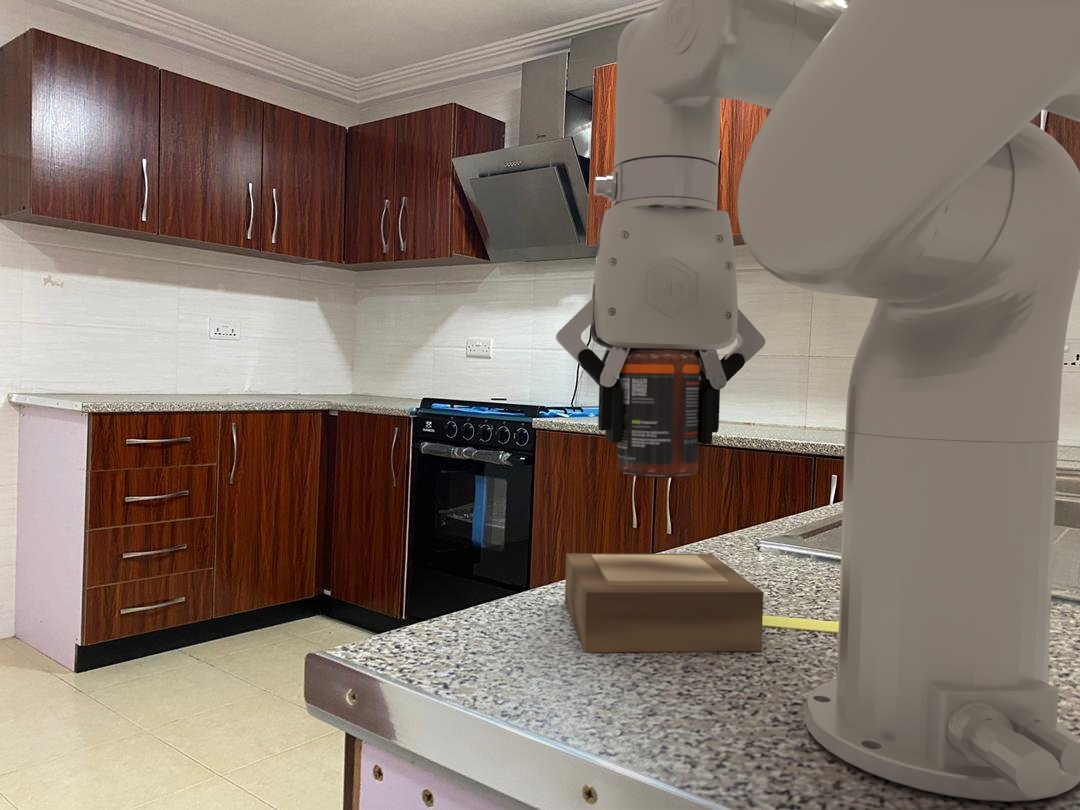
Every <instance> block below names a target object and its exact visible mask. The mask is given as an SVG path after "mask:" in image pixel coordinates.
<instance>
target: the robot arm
mask: <svg viewBox="0 0 1080 810" xmlns="http://www.w3.org/2000/svg"><path fill="white" fill-rule="evenodd" d="M616 54H617V59H616V60H617V61H616V87H615V88H616V91H615V92H616V94H615V95H616V96H615V124H614V125H615V127H614V128H615V129H614V130H615V131H614V135H615V136H614V164H613V166H614V170H613V171H611V173H609V174H605V175H604V176H597V175H595V176H594V181H593V195H594V196H603V198H608V202H611V203H610V205H611V206H610V208H607V209H606V210H605V211H604V215H603V219H602V223H601V227H600V233H599V238H598V245H597V251H596V257H595V263H594V264H595V266H594V272H593V273H594V274H593V275H594V276H593V284H592V295H591V297H592V298H591V299H590V300H589V301H587V303H586V304H585V305H583V306H582V308H581V309H579V311H578V312H577V313H576V314H575V315H573V316H572V318H571V319H569V320H568V322H566V323H565V324H564V325H563V327H562V328H560V329H559V330H558V331H557V333H556V334H555V340H556V341H557V343H558V344H559V345H560V346H561V347H562V348H563V349H564V350H565V351H566V352H567V353H568V354H569V356H571V357H572V358H573V359H574V360H575V361H576V363H577V364H578V365H579V366H580V367H581V368H582V369H583V370H584V371H585V373H586V374H587V375H589V377H590V378H592V379H593V381H594V383H595V384H596V386H599V387H598V414H597V415H598V416H597V417H598V418H597V422H598V423H597V424H598V425H597V427H598V430H599V431H604V432H605V440H606V441H607V442H610V443H611V444H618V443H619V441H622V422H623V389H621V387H619V374H620V371H621V369H622V366H623V364H624V362H625V359H626V357H627V355H628V352H629V350H630V348H652V349H690V350H691V351H692V352H694V353H695V354H696V355H697V356H698V359H699V364H700V369H699V378H700V379H699V430H698V444H701V445H712V443H713V433H715V434H716V433H718V432H719V428H720V427H719V425H720V405H721V404H720V403H721V401H720V399H721V390H722V389H724V388H725V387H726V385H727V383H728V382H729V381H730V380H731V379H732V378H733V377H734V376H735V375H736V374H737V373H738V372H739V371H740V370H741V369H742V368H743V367H744V366H745V364H746V363H747V362H748V361H750V360H751V359H752V358H753V357H755V355H756V354H757V353H758V352H759V351H760V350H762V349H763V348H764V347H765V345H766V339H765V337H764V336H763V335H762V334H761V332H760V331H759V330H758V329H757V327H755V325H754V324H753V323H752V322H751V321H750V320H749V319H748V317H746V316H745V314H744V313H743V312H742V311H741V310H740V309H739V307H738V306H739V305H738V287H737V286H738V285H737V284H738V282H737V268H736V257H735V256H736V255H735V245H734V239H733V238H734V237H733V230H732V225H731V219H730V216H729V212H728V211H724V210H718V195H719V194H718V193H719V162H720V161H719V160H720V157H719V156H720V134H721V133H720V128H721V125H720V124H721V102H722V101H721V99H725V100H726V99H727V100H733V101H741V102H744V103H748V104H752V105H756V106H759V107H763V108H765V109H770V112H769V113H768V114H767V116H766V118H765V119H764V121H763V123H761V126H760V128H759V130H758V131H757V134H756V135H755V137H754V139H753V140H752V141H753V142H752V143H751V146H750V148H749V150H748V153H747V155H746V158H745V161H744V164H743V167H742V170H741V174H740V179H739V183H738V187H737V200H736V203H737V204H736V205H737V206H736V207H737V209H736V211H737V219H738V227H739V230H740V234H741V237H742V240H743V242H744V244H745V246H746V248H747V249H748V251H749V253H750V254H751V256H752V258H754V260H755V261H756V262H757V263H758V264H759V265H760V266H761V267H762V268H763V269H765V270H766V271H767V273H769V274H770V275H772V276H774V277H775V278H777V279H779V280H780V281H783V282H785V283H788V285H792V286H794V287H798V288H801V289H805V290H810V291H814V292H817V293H824V294H830V295H839V296H841V295H842V296H848V297H849V296H850V297H857V298H858V297H859V298H868V299H877V300H876V303H875V306H874V309H873V311H872V314H871V316H870V319H869V322H868V324H867V326H866V328H865V331H864V333H863V336H862V338H861V340H860V343H859V346H858V349H857V351H856V354H855V357H854V360H853V363H852V368H851V373H850V377H849V383H848V389H847V394H846V395H847V398H846V412H845V413H846V414H845V415H846V417H845V430H844V450H843V451H844V452H843V453H844V456H843V482H842V483H843V484H842V485H843V486H842V487H843V488H842V516H841V543H840V577H839V578H840V579H839V603H838V604H839V605H838V607H839V609H838V637H837V638H838V639H837V640H838V641H837V665H836V666H837V667H836V669H837V670H836V673H837V674H836V679H831V680H829V681H827V682H824V683H822V684H820V685H818V686H816V687H815V688H814V689H812V690H811V691H810V692H809V693H808V694H807V696H806V697H805V704H804V709H805V710H804V721H805V724H806V728H807V730H808V731H809V733H810V734H811V736H812V737H813V739H814V740H816V742H817V743H819V744H820V745H821V746H823V748H825V749H826V750H827V751H828V752H830V753H832V754H833V756H834V755H835V756H836V757H837V758H839V759H841V760H842V761H844V762H845V763H848V764H850V765H852V766H854V767H856V768H857V769H860V770H862V771H864V772H866V773H869V774H871V775H874V776H876V777H879V778H882V779H885V780H887V781H890V782H892V783H896V784H899V785H903V786H907V787H909V788H914V789H916V790H919V791H924V792H930V793H933V794H939V795H944V796H948V797H955V798H962V799H967V800H968V799H969V800H976V801H988V802H989V801H990V802H991V801H992V802H1005V803H1006V802H1008V803H1009V802H1011V803H1012V802H1025V801H1026V802H1029V801H1037V800H1043V799H1048V798H1053V797H1056V796H1059V795H1060V794H1064V793H1066V792H1068V791H1070V790H1072V789H1073V788H1075V787H1076V786H1077V785H1078V784H1079V783H1080V741H1079V739H1078V738H1077V737H1076V736H1075V735H1074V734H1072V732H1071V731H1069V729H1068V728H1067V727H1065V725H1063V724H1061V723H1059V722H1058V712H1059V710H1058V709H1059V688H1057V687H1055V686H1053V685H1051V684H1049V683H1048V682H1049V681H1048V680H1049V661H1050V659H1049V658H1050V656H1049V655H1050V638H1051V637H1050V633H1051V611H1052V610H1051V609H1052V592H1053V591H1052V590H1053V589H1052V588H1053V587H1052V586H1053V585H1052V584H1053V567H1054V566H1053V563H1054V561H1053V560H1054V543H1055V542H1054V539H1055V538H1054V537H1055V536H1054V535H1055V517H1056V515H1055V513H1056V494H1057V493H1056V491H1057V489H1056V488H1057V471H1058V470H1057V468H1058V467H1057V464H1058V463H1057V462H1058V441H1059V439H1060V438H1059V437H1060V414H1061V413H1060V412H1061V397H1062V396H1061V395H1062V382H1063V381H1062V380H1063V379H1062V378H1063V367H1064V366H1063V365H1064V356H1065V355H1064V354H1065V346H1066V345H1065V344H1066V340H1067V332H1068V325H1069V324H1068V323H1069V318H1070V313H1071V308H1072V303H1073V300H1074V299H1073V298H1074V295H1075V290H1076V285H1077V281H1078V277H1079V274H1080V171H1079V169H1078V166H1077V165H1076V163H1075V161H1074V159H1073V158H1072V156H1070V154H1069V153H1068V150H1066V149H1065V148H1064V147H1063V146H1062V145H1061V144H1060V143H1059V142H1058V140H1056V139H1055V138H1054V137H1053V136H1052V135H1051V134H1050V133H1048V132H1046V131H1045V130H1043V129H1042V128H1041V127H1039V126H1037V125H1036V124H1034V123H1032V122H1031V121H1032V120H1034V118H1036V117H1037V116H1038V115H1039V114H1040V113H1041V112H1043V111H1047V112H1049V113H1051V114H1055V115H1058V116H1061V117H1064V118H1067V119H1069V120H1072V121H1076V122H1079V123H1080V0H664V1H663V2H662V3H661V4H660V5H659V6H658V7H657V8H656V9H655V10H654V11H650V12H647V13H645V14H641V15H640V16H638V17H636V18H634V19H633V20H631V21H630V22H629V23H628V24H627V25H626V26H625V27H624V29H623V31H622V32H621V34H620V37H619V39H618V43H617V53H616ZM589 326H590V332H591V338H592V340H593V342H595V343H596V344H597V345H599V346H600V347H604V348H605V351H604V353H603V356H602V359H600V357H599V356H598V355H597V354H596V353H595V352H594V351H593V350H592V349H591V348H590V347H589V346H587V344H586V343H585V342H584V341H583V339H582V333H583V332H584V331H585V330H586V329H587V328H588V327H589ZM736 339H737V343H736V345H735V346H734V347H733V348H732V349H731V351H729V352H728V353H727V354H725V355H724V356H723V357H722V358H721V359H720V358H719V354H718V351H717V350H721V349H725V348H727V347H730V346H731V345H732V344H733V343H735V341H736Z"/></svg>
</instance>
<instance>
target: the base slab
mask: <svg viewBox="0 0 1080 810" xmlns="http://www.w3.org/2000/svg"><path fill="white" fill-rule="evenodd" d="M564 583H565V587H564V588H565V590H564V593H565V594H564V604H565V606H566V608H567V611H568V614H569V616H570V618H571V620H572V623H573V626H574V628H575V631H576V633H577V635H578V638H579V641H580V643H581V645H582V648H583V651H584V653H654V652H655V653H661V652H662V653H666V652H667V653H668V652H669V653H670V652H671V653H674V652H681V653H682V652H684V653H685V652H689V653H690V652H695V653H696V652H697V653H698V652H763V651H762V647H763V646H762V645H763V619H764V617H763V616H764V615H763V614H764V613H763V612H764V591H762V590H761V589H760V588H759V587H757V586H756V585H754V584H753V583H751V582H750V581H749V580H748V579H746V578H745V577H743V575H741V574H739V573H738V572H737V571H736V570H734V569H733V568H731V567H730V566H729V565H727V564H726V563H724V562H723V561H722V560H721V559H719V558H718V557H717V556H715V555H714V554H713V553H572V552H571V553H568V552H567V553H565V582H564Z"/></svg>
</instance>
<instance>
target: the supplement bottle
mask: <svg viewBox="0 0 1080 810" xmlns="http://www.w3.org/2000/svg"><path fill="white" fill-rule="evenodd" d="M699 369H700V364H699V359H698V356H697V355H696V354H695V353H694V352H692V351H691V350H690V349H652V348H630V350H629V352H628V355H627V357H626V359H625V362H624V364H623V366H622V369H621V371H620V374H619V376H618V379H619V387H621V389H623V422H622V441H619V443H617V450H616V451H617V452H616V453H617V455H616V456H617V458H616V460H617V470H618V472H620V473H622V474H623V475H624V476H629V477H630V476H631V477H638V478H639V477H641V478H649V479H678V478H679V479H680V478H681V479H682V478H687V477H692V476H693V475H695V474H696V473H697V471H698V464H699V443H698V430H699V379H700V378H699Z"/></svg>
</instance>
